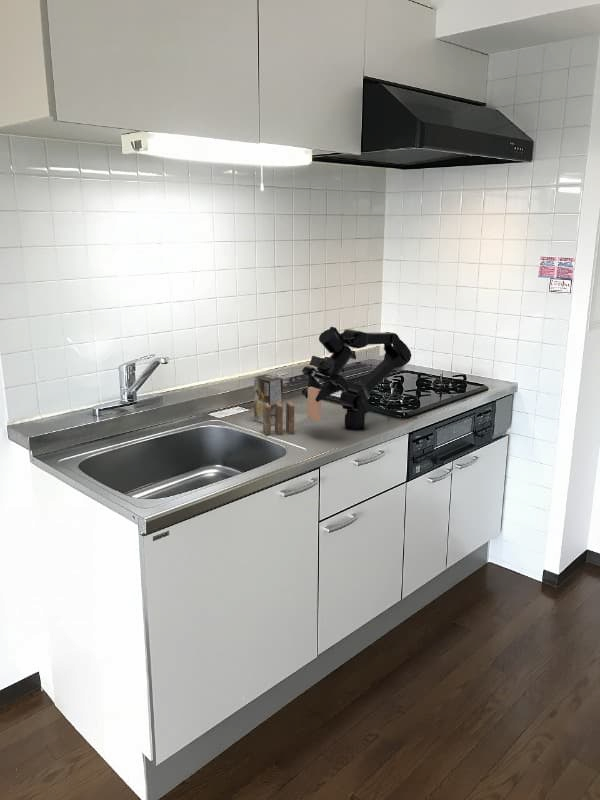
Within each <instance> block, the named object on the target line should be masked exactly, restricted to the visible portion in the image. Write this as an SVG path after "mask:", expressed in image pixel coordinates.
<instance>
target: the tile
mask: <svg viewBox="0 0 600 800" xmlns="http://www.w3.org/2000/svg"><path fill="white" fill-rule="evenodd" d="M307 387H308V386H307ZM321 389H322V388H319V389H317V388H314V387H308V398H307V418H309V419H310V418H311V419H313V420H316V421H320V420H322V400H320V401H318V402H317V401H316V400H315V399H316V397H317V395H318V394H319V392H320V391H321Z"/></svg>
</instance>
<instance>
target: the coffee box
mask: <svg viewBox="0 0 600 800" xmlns="http://www.w3.org/2000/svg"><path fill="white" fill-rule="evenodd" d="M283 380H284V378H282V377H277V376H273V375H271V374H262V375H257V376H253V399H254V400H253V401H254V402H253V406H254V407H253V409H254V410H253V411H254V414H253V415H254V417H253V418H254V421H255V420H256V421H255V422H258V421H259V422H258V423H262V424H263V403H268V404H269V405H270V406H271V426H275V402H280V403H281V404H282V406H283V407H284V405H283V404H284V401H283V400H284V398H283V395H284V392H283V391H284V383H283V382H284V381H283Z"/></svg>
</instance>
